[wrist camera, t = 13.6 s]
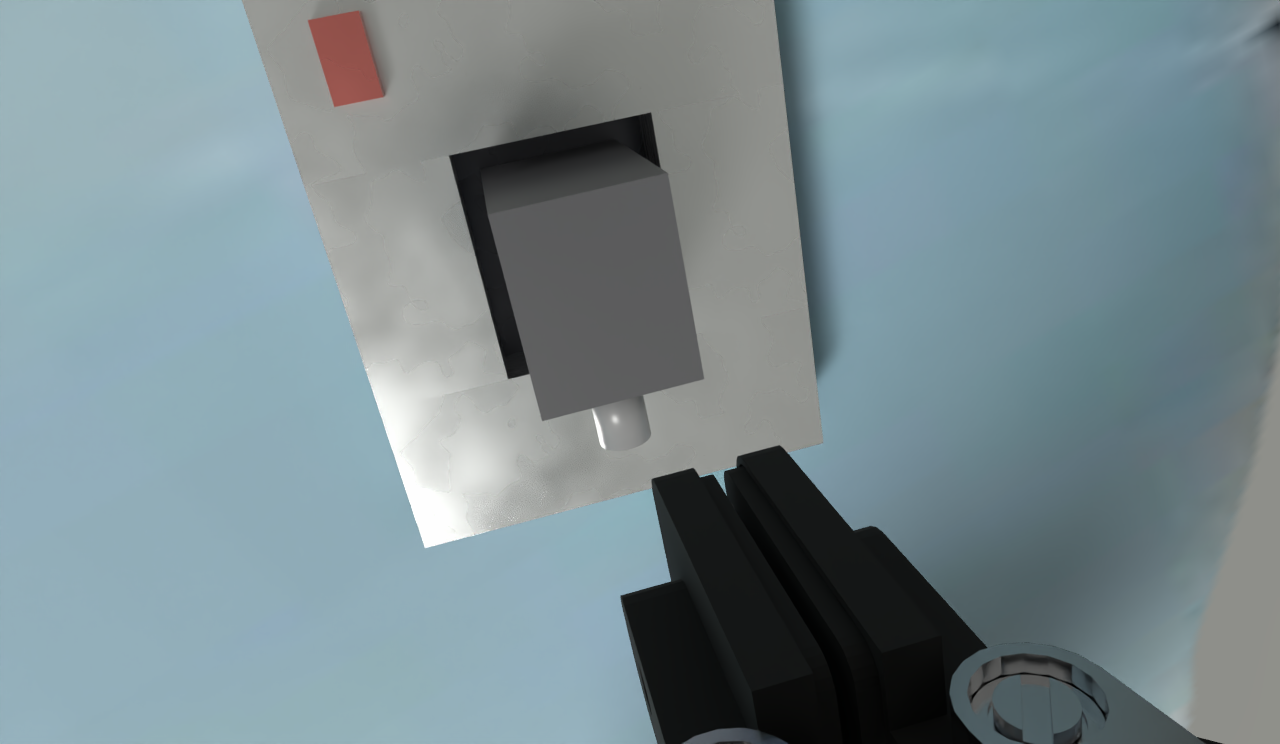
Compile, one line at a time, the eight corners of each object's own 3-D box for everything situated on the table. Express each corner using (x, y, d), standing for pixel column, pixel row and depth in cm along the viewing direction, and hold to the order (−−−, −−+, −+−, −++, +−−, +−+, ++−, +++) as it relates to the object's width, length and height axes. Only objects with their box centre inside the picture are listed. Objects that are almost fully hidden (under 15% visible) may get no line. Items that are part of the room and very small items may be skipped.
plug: (657, 356, 28) (717, 450, 22) (537, 387, 27) (561, 493, 21) (614, 138, 25) (667, 172, 19) (479, 169, 25) (487, 214, 18)
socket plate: (795, 412, 30) (830, 451, 27) (427, 507, 29) (424, 558, 26) (732, -97, 24) (769, -115, 21) (260, -8, 23) (232, -15, 20)
